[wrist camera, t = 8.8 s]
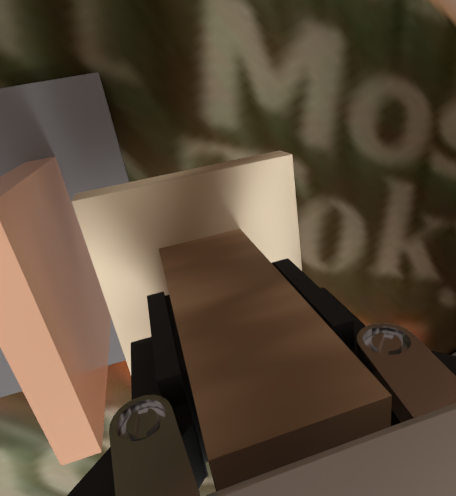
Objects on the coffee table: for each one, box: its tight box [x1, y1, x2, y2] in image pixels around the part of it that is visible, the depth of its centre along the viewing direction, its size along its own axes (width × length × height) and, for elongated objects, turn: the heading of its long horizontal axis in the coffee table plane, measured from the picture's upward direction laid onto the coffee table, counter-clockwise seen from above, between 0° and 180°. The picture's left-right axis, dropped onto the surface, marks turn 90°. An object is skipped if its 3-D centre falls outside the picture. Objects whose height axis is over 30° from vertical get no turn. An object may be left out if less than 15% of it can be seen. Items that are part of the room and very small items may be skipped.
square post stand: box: [72, 151, 392, 491], centre depth 11 cm, size 8×8×10 cm
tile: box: [0, 156, 111, 466], centre depth 16 cm, size 2×10×10 cm, turn 10°
